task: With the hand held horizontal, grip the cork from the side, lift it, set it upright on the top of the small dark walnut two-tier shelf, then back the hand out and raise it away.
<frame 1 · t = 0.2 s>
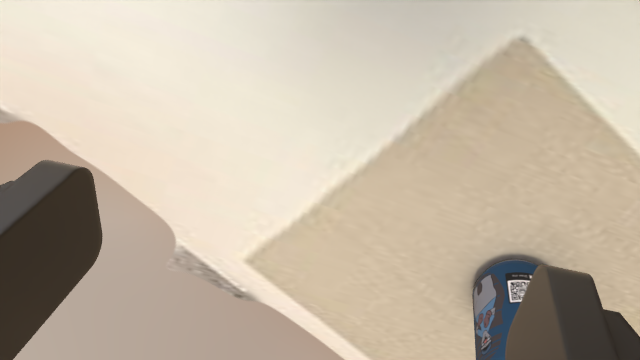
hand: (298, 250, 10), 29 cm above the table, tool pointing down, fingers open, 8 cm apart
soda can: (514, 283, 45), on the table
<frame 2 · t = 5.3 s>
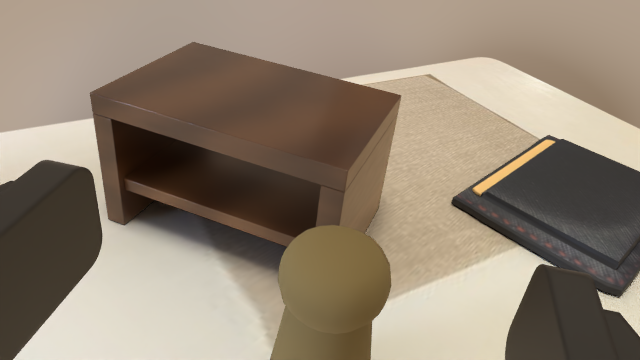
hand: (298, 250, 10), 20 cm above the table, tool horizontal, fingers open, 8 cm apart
wallet: (573, 205, 49), on the table
shelf: (250, 213, 43), on the table
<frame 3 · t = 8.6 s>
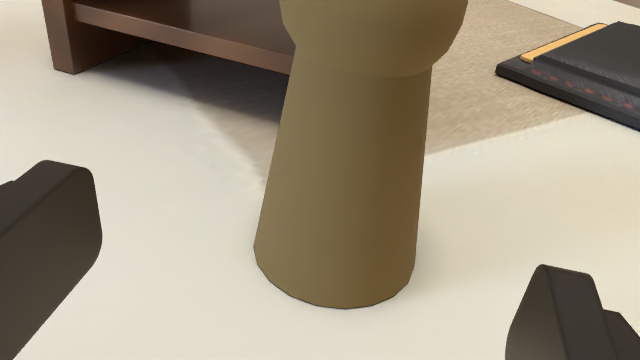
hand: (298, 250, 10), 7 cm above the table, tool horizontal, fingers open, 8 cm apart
shelf: (242, 71, 33), on the table
cork: (333, 252, 20), on the table
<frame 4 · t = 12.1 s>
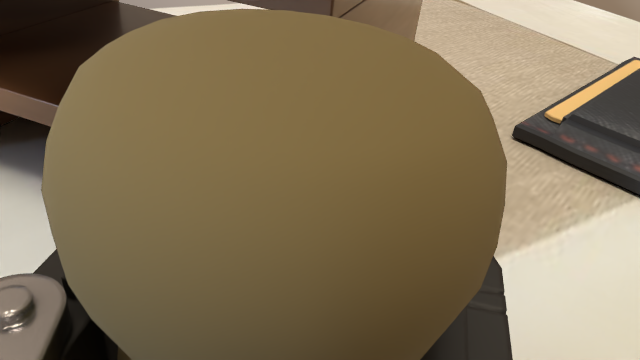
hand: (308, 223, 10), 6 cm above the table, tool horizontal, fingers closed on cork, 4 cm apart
shelf: (175, 144, 25), on the table
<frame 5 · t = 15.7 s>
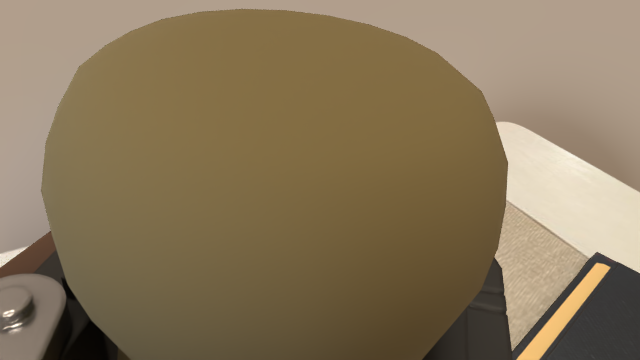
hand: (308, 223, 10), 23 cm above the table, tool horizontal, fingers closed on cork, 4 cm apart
when the fingers open (17 cm above the table, at t = 19.7 s): cork stays where it is, resting on shelf.
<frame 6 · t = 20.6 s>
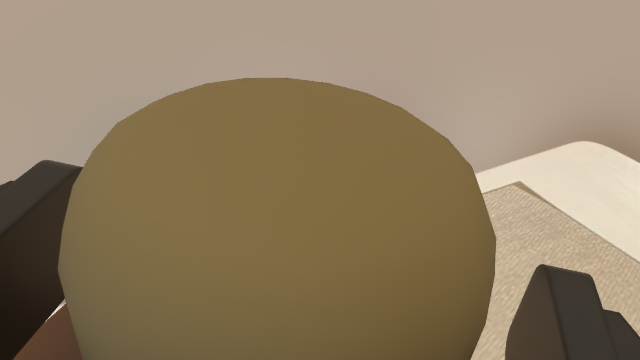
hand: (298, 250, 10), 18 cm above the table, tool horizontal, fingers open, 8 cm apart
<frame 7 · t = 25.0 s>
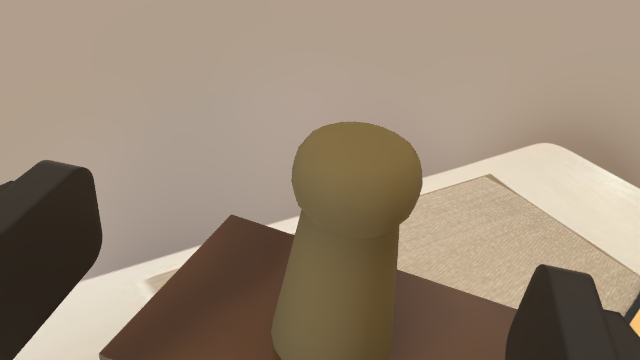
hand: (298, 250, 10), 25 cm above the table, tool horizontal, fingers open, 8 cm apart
cork: (331, 335, 27), point 10 cm above the table, touching shelf
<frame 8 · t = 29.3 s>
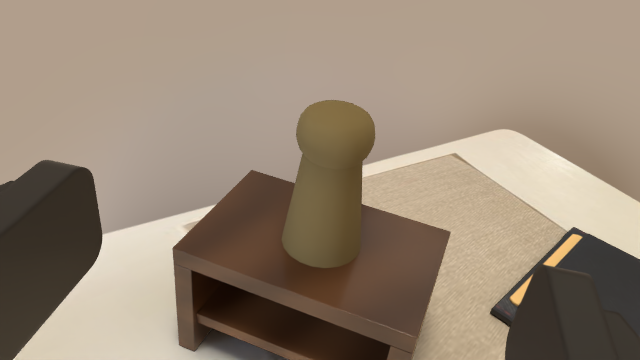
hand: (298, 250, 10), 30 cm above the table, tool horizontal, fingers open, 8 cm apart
wallet: (602, 309, 53), on the table
shelf: (307, 332, 46), on the table
cork: (321, 242, 40), point 10 cm above the table, touching shelf
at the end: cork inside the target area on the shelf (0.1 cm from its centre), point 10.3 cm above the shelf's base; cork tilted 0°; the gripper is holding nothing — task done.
